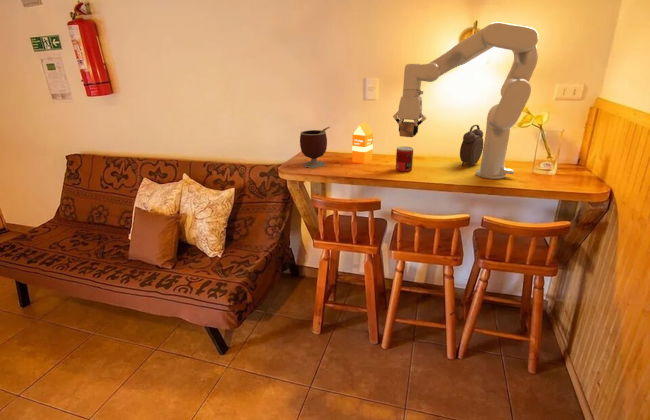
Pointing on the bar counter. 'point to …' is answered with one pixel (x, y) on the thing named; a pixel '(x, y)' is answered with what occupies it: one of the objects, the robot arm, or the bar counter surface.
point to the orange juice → (362, 144)
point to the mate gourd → (313, 146)
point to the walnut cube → (407, 129)
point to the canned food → (404, 159)
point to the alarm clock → (472, 146)
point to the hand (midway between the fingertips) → (407, 133)
